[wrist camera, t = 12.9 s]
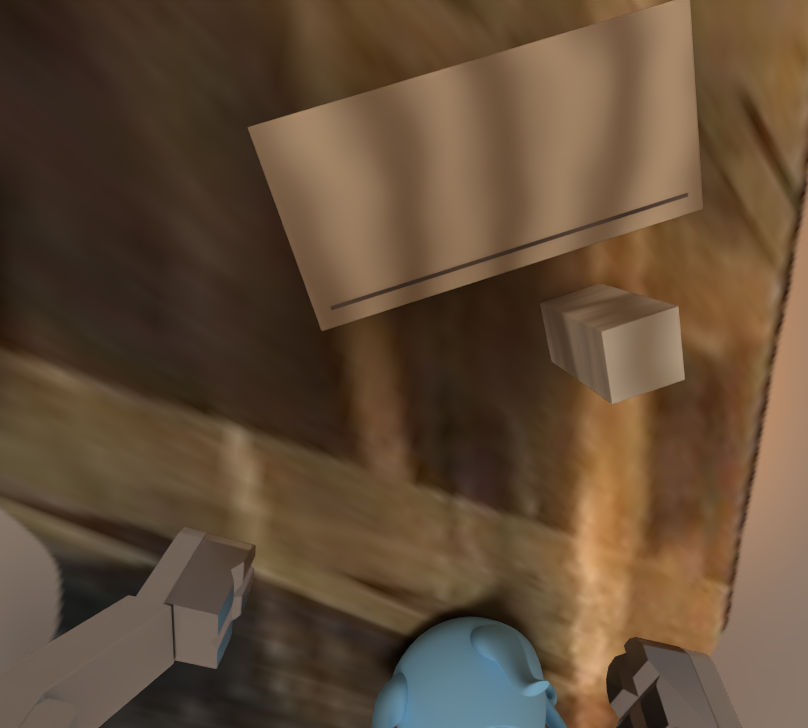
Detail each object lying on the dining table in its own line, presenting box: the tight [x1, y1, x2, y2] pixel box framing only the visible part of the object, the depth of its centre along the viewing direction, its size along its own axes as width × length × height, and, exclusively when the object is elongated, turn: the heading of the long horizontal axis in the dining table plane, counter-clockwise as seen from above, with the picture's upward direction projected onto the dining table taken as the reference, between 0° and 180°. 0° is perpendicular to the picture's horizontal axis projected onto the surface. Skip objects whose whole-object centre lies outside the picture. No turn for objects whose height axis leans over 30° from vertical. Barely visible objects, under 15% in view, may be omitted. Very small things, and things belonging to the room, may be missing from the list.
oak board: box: [248, 0, 703, 331], centre depth 30 cm, size 26×12×2 cm, turn 106°
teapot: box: [372, 617, 567, 728], centre depth 38 cm, size 15×15×10 cm
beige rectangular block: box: [540, 283, 685, 404], centre depth 31 cm, size 5×4×8 cm
